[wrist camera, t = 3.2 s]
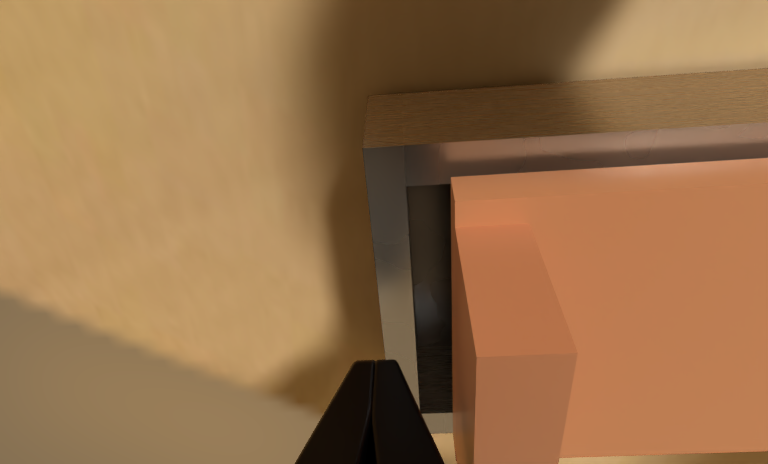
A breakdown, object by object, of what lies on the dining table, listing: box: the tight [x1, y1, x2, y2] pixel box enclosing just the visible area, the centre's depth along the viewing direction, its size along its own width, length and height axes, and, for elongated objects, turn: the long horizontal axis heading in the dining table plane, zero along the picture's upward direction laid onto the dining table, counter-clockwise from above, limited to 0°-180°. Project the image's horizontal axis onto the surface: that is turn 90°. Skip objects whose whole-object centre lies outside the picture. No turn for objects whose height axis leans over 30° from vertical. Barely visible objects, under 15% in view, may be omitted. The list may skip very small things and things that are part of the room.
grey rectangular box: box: [363, 68, 768, 434], centre depth 12 cm, size 13×8×2 cm, turn 94°
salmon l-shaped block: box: [451, 158, 768, 464], centre depth 10 cm, size 7×7×4 cm
